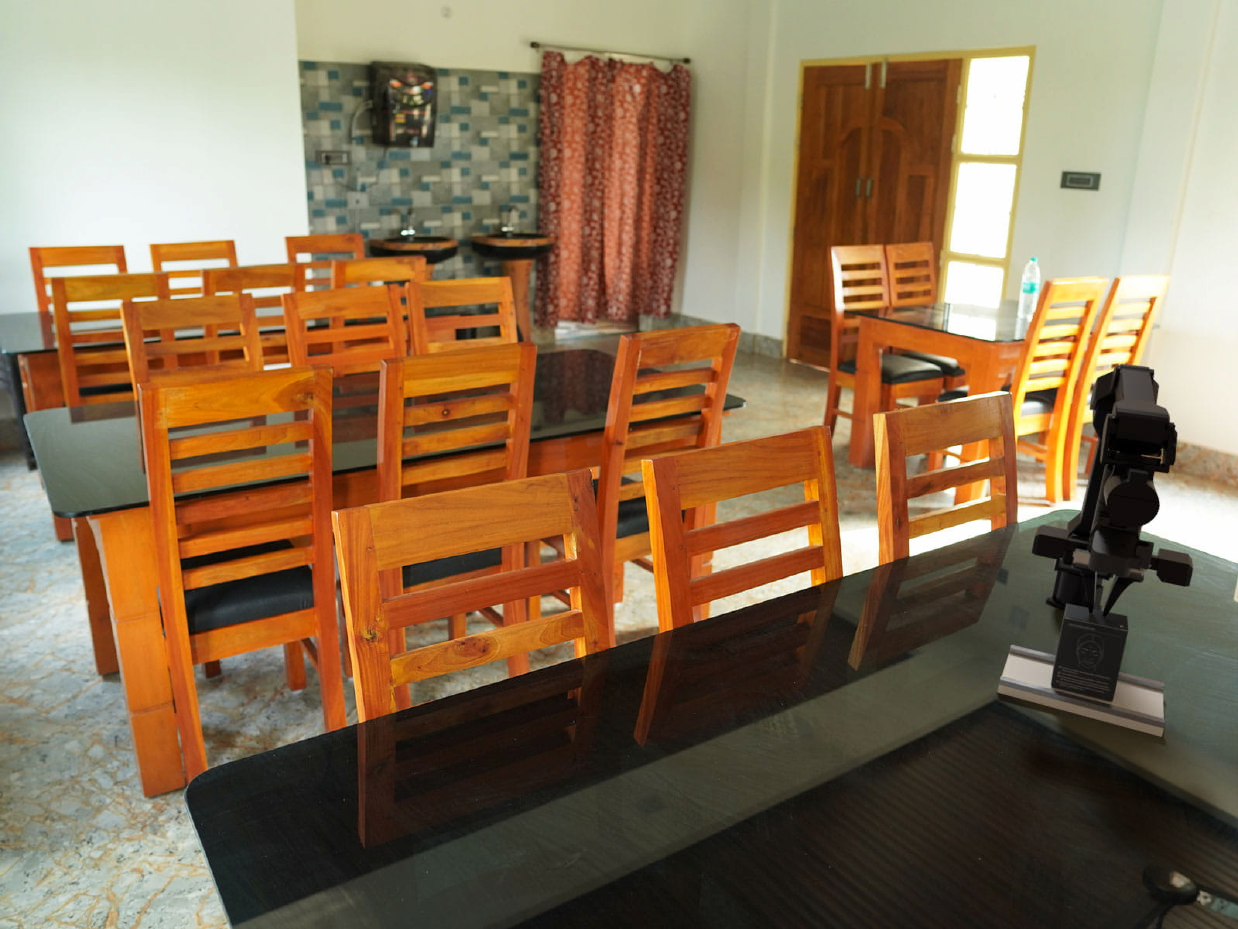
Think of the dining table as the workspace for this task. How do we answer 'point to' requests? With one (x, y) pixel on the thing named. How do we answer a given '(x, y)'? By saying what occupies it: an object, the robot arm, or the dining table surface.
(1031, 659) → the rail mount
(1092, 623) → the box
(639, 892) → the dining table surface
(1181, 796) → the dining table surface
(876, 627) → the dining table surface
